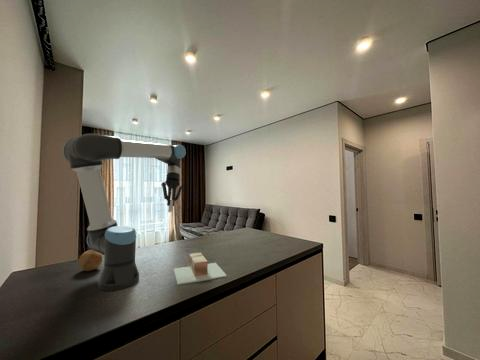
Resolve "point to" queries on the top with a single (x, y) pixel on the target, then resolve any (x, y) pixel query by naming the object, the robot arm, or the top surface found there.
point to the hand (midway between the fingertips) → (170, 211)
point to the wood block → (198, 264)
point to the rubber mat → (187, 276)
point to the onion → (90, 260)
